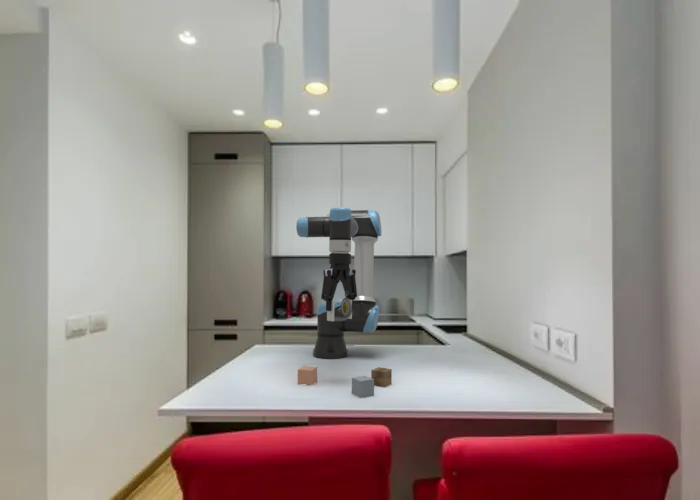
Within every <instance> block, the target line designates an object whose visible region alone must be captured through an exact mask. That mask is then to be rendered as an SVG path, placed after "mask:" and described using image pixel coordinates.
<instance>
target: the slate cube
mask: <svg viewBox="0 0 700 500" xmlns="http://www.w3.org/2000/svg"><path fill="white" fill-rule="evenodd" d="M353 394H354V396H356V397H358V398H360V399H361V398H367V397H373V396H375V386H374V379H372V378H371V376H370V377H369V376H367V375H361V376H359V375H358V376H353V377H351V395H353Z"/></svg>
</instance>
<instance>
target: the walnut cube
mask: <svg viewBox="0 0 700 500" xmlns="http://www.w3.org/2000/svg"><path fill="white" fill-rule="evenodd" d="M370 372H371V375H370V378H372V379H374V387H380V388H381V387H382V388H386V387H388V386H390V385H392V379H393V378H392V374H393V373H392V368H386V367H378V366H377V367H376V368H374V369H371V370H370Z"/></svg>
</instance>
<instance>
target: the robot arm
mask: <svg viewBox="0 0 700 500" xmlns="http://www.w3.org/2000/svg"><path fill="white" fill-rule="evenodd" d="M295 227H296V233H297V235H298V237H299V238H329V239H328V241H329V244H328V245H329V246H328V248H329V249H328V251H329V252H330V253H329V254H328V263H329V265H330V267H329V269H324V270H323V280H322V281H323V282H322V289H321V300H323V301H324V302H323V303H320V304H319V305H318V307H317V314H316V316H317V325H316V326H317V330H316V331H317V334H316V335H317V336H316V337H317V338H316V340H315V344H314V348H313V350H312V356H313V357H315V358H318V359H319V358H320V359H326V360H327V359H329V360H330V359H331V360H332V359H334V360H335V359H342V358H346V357H348V355H349V349H348V348H347V344H346V340H345V333H348V332H349V333H363V334H366V333H374V332H375V331H376V329H377V328H378V323H379V317H380V306H379V305H377V301H376V299H374V298H373V294H374V293H373V292H374V290H373V288H374V263H375V262H374V259H375V258H374V257H375V255H374V254H375V244H376V243H377V242H378V241H379V240H378V239H379V237H382V222H381V217H380V214H379V212H378V211H377V210H375V209H374V210H373V209H371V210H370V209H364V210H363V209H361V210H360V209H359V210H358V209H357V210H353V209H351V208H349V207H342V206H340V207H339V206H338V207H332V208H330V210H329V213H328V214H326V215H320V216H319V215H318V216H302V217H301V216H300V217H298V219H297V220H296V226H295ZM352 241H353V243H354V261H353V269H352V268H350V265H352V254H351V251H352ZM340 282H341V285H342V288H343V291H344V295H345V294H346V293H347V294H348V292H349V294H348V295H347V298H348V299H350V301H351V304H352V313H351V315H350V316H349V317H347V320H345V321H334V316H341V317H344V316H343V314H342V311H341V303H342V300H338V301H334V297H335V294H336V290H337V287H338V284H339V283H340ZM346 291H348V292H346ZM345 292H346V293H345ZM347 306H348V305H347ZM347 310H348V309H347Z"/></svg>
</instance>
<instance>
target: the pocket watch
mask: <svg viewBox="0 0 700 500" xmlns="http://www.w3.org/2000/svg"><path fill="white" fill-rule="evenodd" d="M346 292H348V291H346ZM346 292H345V291H344V296H345V297H343V298H342V300H341V301H342V303H341V311H342V314H343V316H344V317H341V316H334V321H345V320H347V317H349V316H350V315H351V313H352V304H351V301H350V299H348V298H347V295H348V294H349V292H348V294H347V293H346ZM345 293H346V294H345ZM347 305H348V306H347ZM347 309H348V310H347Z"/></svg>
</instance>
